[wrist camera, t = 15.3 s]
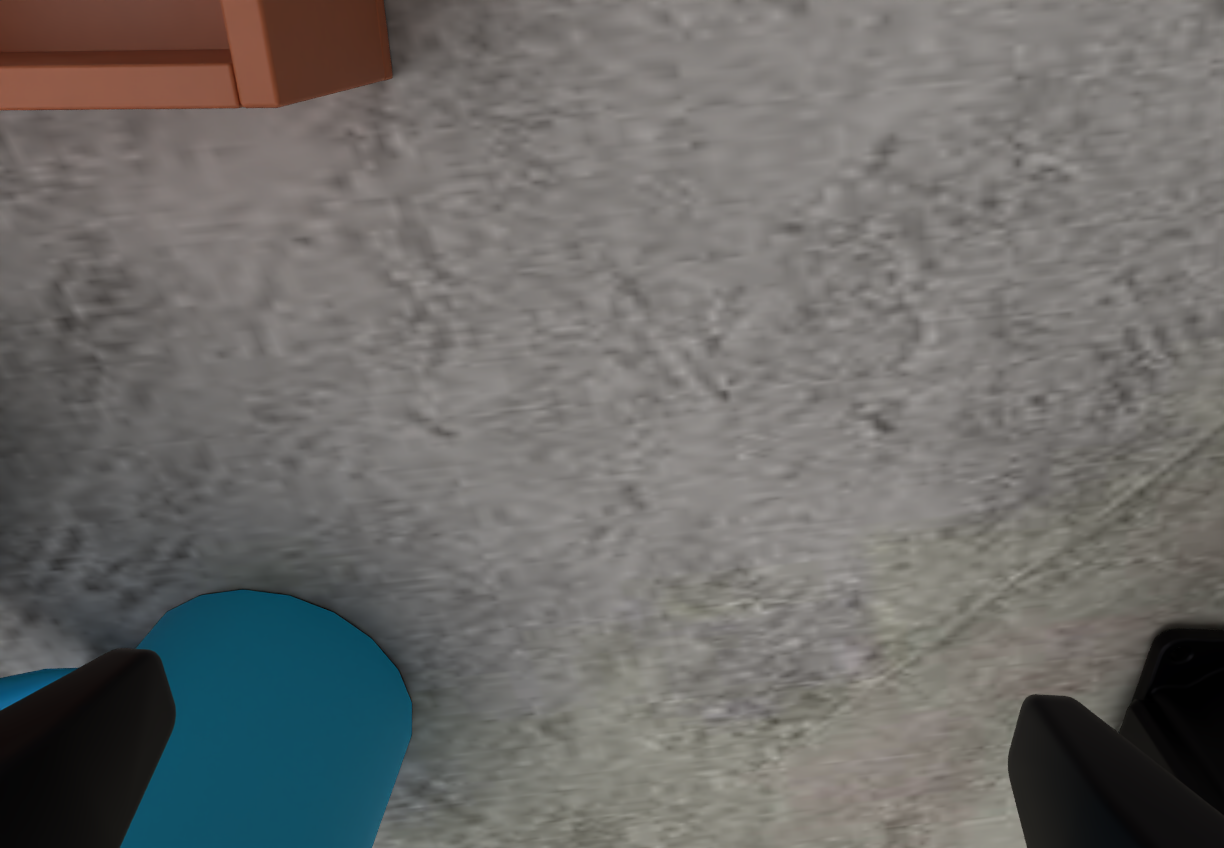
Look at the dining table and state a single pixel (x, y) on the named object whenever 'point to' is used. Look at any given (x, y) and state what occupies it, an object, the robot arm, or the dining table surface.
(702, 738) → the dining table surface
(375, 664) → the mug
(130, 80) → the tub
